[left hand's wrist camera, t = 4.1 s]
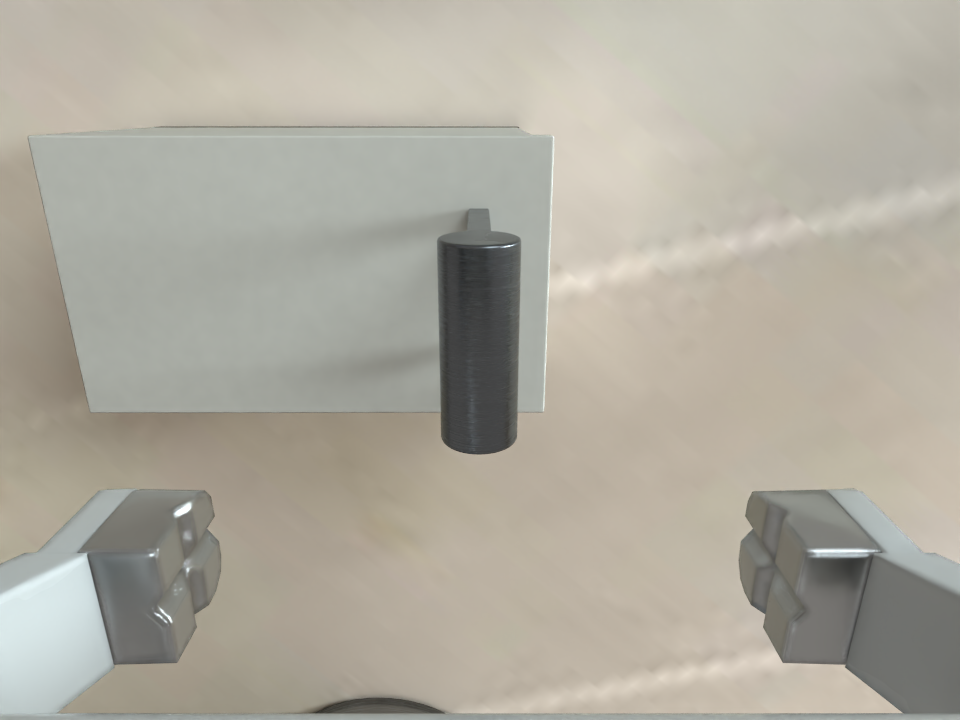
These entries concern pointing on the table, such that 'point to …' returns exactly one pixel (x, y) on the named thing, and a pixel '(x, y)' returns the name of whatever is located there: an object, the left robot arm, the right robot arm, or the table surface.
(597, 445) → the table surface
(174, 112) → the table surface
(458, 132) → the chest
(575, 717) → the left robot arm
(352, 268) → the lid
